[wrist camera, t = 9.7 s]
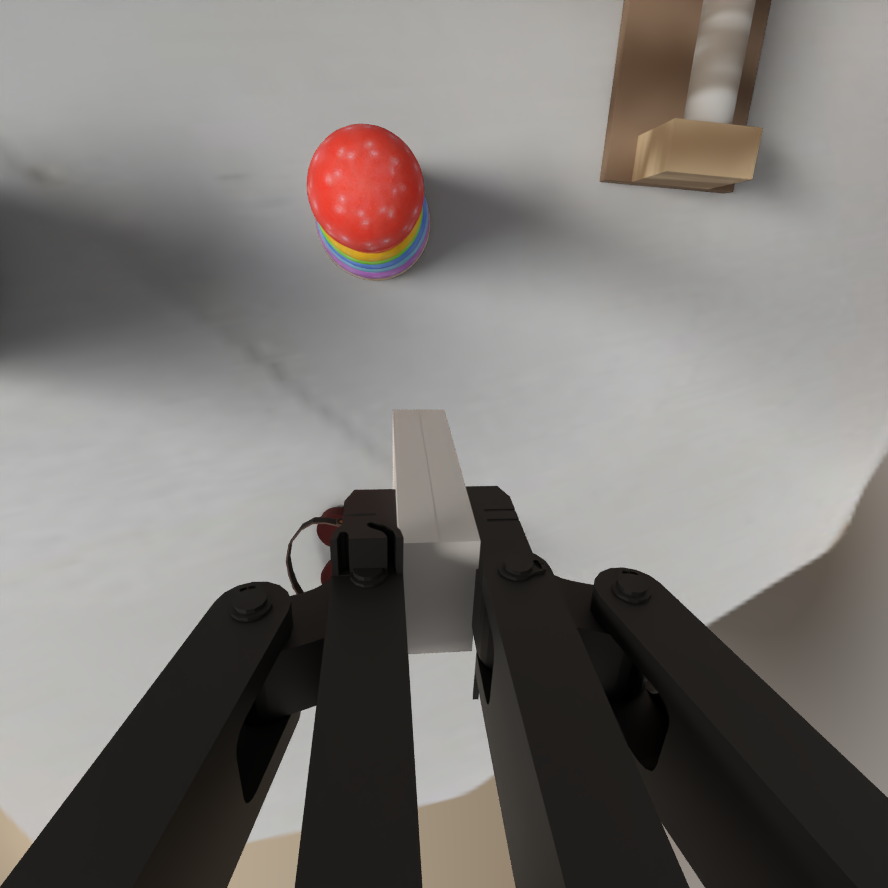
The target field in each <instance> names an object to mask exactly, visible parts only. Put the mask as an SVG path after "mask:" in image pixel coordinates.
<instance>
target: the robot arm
mask: <svg viewBox="0 0 888 888" xmlns="http://www.w3.org/2000/svg"><path fill="white" fill-rule="evenodd" d="M330 551H331V569H332V577H331V578H330V579H329V580H328V581H326V582H325V583H324V584H323V585H321V586H319V587H317V588H315V589H313V590H310V591H307V592H304V593H300V594H297V595H293V596H289V594H288V592H287V591H286V590H285V589H284V588H282V587H281V586H280V585H277V584H273V583H270V582H251V583H247V584H243V585H239V586H236V587H234V588H232V589H230V590H229V591H227V592H225V593H224V594H222V595H221V596H220V597H219V598H218V599H217V600H216V601H215V602H214V603H213V605H212V606H211V607H210V609H209V610H208V611H207V613H206V614H205V615H204V617H203V618H202V619H201V621H200V622H199V623H198V625H197V626H196V627H195V629H194V630H193V631H192V633H191V634H190V635H189V637H188V638H187V639H186V641H185V642H184V643H183V645H182V646H181V647H180V649H179V650H178V651H177V653H176V654H175V655H174V657H173V658H172V659H171V661H170V662H169V663H168V664H167V666H166V667H165V668H164V670H163V671H162V672H161V674H160V675H159V676H158V678H157V679H156V680H155V682H154V683H153V684H152V686H151V687H150V688H149V690H148V691H147V692H146V694H145V695H144V696H143V698H142V699H141V700H140V702H139V703H138V704H137V706H136V707H135V708H134V710H133V711H132V712H131V714H130V715H129V716H128V718H127V719H126V720H125V722H124V723H123V724H122V726H121V727H120V728H119V730H118V731H117V732H116V734H115V735H114V736H113V738H112V739H111V740H110V742H109V743H108V744H107V746H106V747H105V748H104V750H103V751H102V752H101V754H100V755H99V756H98V758H97V759H96V760H95V761H94V763H93V764H92V765H91V767H90V768H89V769H88V771H87V772H86V773H85V775H84V776H83V777H82V779H81V780H80V781H79V783H78V784H77V785H76V787H75V788H74V789H73V791H72V792H71V793H70V795H69V796H68V797H67V799H66V800H65V801H64V803H63V804H62V805H61V807H60V808H59V809H58V811H57V812H56V813H55V815H54V816H53V817H52V819H51V820H50V821H49V823H48V824H47V825H46V827H45V828H44V829H43V831H42V832H41V833H40V835H39V836H38V837H37V839H36V840H35V841H34V843H33V844H32V845H31V847H30V848H29V849H28V851H27V852H26V853H25V854H24V856H23V857H22V858H21V860H20V861H19V863H18V864H17V865H16V866H15V868H14V869H13V870H12V872H11V873H10V875H9V876H8V877H7V879H6V880H5V881H4V882H3V884H2V885H1V886H0V888H227V886H228V884H229V882H230V879H231V877H232V874H233V872H234V870H235V868H236V865H237V863H238V860H239V858H240V856H241V854H242V851H243V849H244V846H245V844H246V842H247V840H248V837H249V835H250V833H251V830H252V828H253V826H254V823H255V821H256V819H257V816H258V814H259V812H260V809H261V807H262V805H263V802H264V800H265V798H266V795H267V793H268V791H269V788H270V786H271V784H272V781H273V779H274V777H275V774H276V772H277V770H278V767H279V765H280V763H281V760H282V758H283V756H284V753H285V751H286V749H287V746H288V744H289V742H290V739H291V737H292V735H293V732H294V730H295V728H296V725H297V723H298V721H299V718H300V713H301V711H302V710H305V709H307V708H310V707H313V706H316V705H317V706H316V714H315V722H314V731H313V739H312V748H311V756H310V764H309V773H308V781H307V789H306V798H305V806H304V815H303V823H302V831H301V840H300V848H299V857H298V865H297V873H296V882H295V888H422V874H421V859H420V842H419V825H418V808H417V792H416V775H415V759H414V742H413V726H412V710H411V693H410V677H409V660H408V654H420V653H440V652H460V651H472V641H473V635H474V640H475V645H476V650H477V653H476V664H475V676H474V688H473V699H478V697H479V695H480V700H481V705H482V711H483V716H484V721H485V727H486V732H487V737H488V743H489V748H490V753H491V759H492V764H493V769H494V775H495V780H496V785H497V791H498V796H499V801H500V807H501V811H502V817H503V823H504V828H505V833H506V838H507V843H508V849H509V854H510V860H511V865H512V870H513V876H514V881H515V886H516V888H689V886H688V883H687V881H686V879H685V876H684V874H683V872H682V869H681V867H680V865H679V863H678V860H677V858H676V856H675V853H674V851H673V849H672V847H671V844H670V842H669V840H668V837H667V835H666V833H665V830H664V828H663V826H662V824H663V825H664V827H665V828H666V830H667V831H668V833H669V834H670V836H671V837H672V839H673V840H674V842H675V843H676V845H677V846H678V848H679V849H680V851H681V852H682V854H683V855H684V857H685V858H686V860H687V861H688V862H689V864H690V866H691V867H692V869H693V870H694V871H695V873H696V874H697V876H698V878H699V879H700V881H701V882H702V884H703V885H704V887H705V888H888V798H887V797H886V796H885V795H884V794H883V793H882V792H881V791H880V790H879V789H878V788H877V787H876V786H875V785H874V784H873V783H871V782H870V781H869V780H868V779H867V778H866V777H865V776H864V775H863V774H862V773H861V772H860V771H859V770H858V769H857V768H856V767H855V766H854V765H852V764H851V763H850V762H849V761H848V760H847V759H846V758H845V757H844V756H843V755H842V754H841V753H840V752H839V751H838V750H837V749H836V748H834V747H833V746H832V745H831V744H830V743H829V742H828V741H827V740H826V739H825V738H824V737H823V736H822V735H821V734H820V733H819V732H817V731H816V730H815V729H814V728H813V727H812V726H811V725H810V724H809V723H808V722H807V721H806V720H805V719H804V718H803V717H802V716H800V715H799V714H798V713H797V712H796V711H795V710H794V709H793V708H792V707H791V706H790V705H789V704H788V703H787V702H786V701H785V700H783V699H782V698H781V697H780V696H779V695H778V694H777V693H776V692H775V691H774V690H773V689H772V688H771V687H770V686H769V685H768V684H767V683H765V682H764V681H763V680H762V679H761V678H760V677H759V676H758V675H757V674H756V673H755V672H754V671H753V670H752V669H751V668H750V667H749V666H748V665H746V664H745V663H744V662H743V661H742V660H741V659H740V658H739V657H738V656H737V655H736V654H734V652H733V651H732V650H731V649H729V648H728V647H727V646H726V645H725V644H724V643H723V642H722V641H721V640H720V639H719V638H718V637H717V636H716V635H715V634H714V633H713V632H711V631H710V630H709V629H708V628H707V627H706V626H705V625H704V624H703V623H702V622H701V621H700V620H699V619H698V618H697V617H696V616H695V615H693V614H692V613H691V612H690V611H689V610H688V609H687V608H686V607H685V606H684V605H683V604H682V603H681V602H680V601H679V600H678V599H676V598H675V597H674V596H673V595H672V594H671V593H670V592H669V591H668V590H667V589H666V588H665V587H664V586H663V585H662V584H661V583H659V582H658V581H656V580H655V579H654V578H652V577H651V576H649V575H647V574H645V573H642V572H640V571H637V570H633V569H628V568H609V569H607V570H605V571H602V572H600V573H599V575H598V576H597V577H596V578H595V581H594V585H591V584H585V583H580V582H575V581H570V580H566V579H562V578H560V577H557V576H555V575H554V574H553V572H552V570H551V568H550V566H549V565H548V564H547V562H546V561H545V560H543V559H542V558H540V557H539V556H537V555H536V554H533V553H532V550H531V548H530V545H529V543H528V540H527V538H526V536H525V533H524V531H523V528H522V526H521V523H520V521H519V518H518V516H517V513H516V511H515V508H514V506H513V504H512V501H511V499H510V496H508V495H507V494H506V493H505V492H504V491H502V490H501V489H500V488H499V487H498V486H469V487H466V486H465V483H464V479H463V476H462V472H461V468H460V465H459V461H458V457H457V454H456V450H455V447H454V443H453V439H452V436H451V432H450V428H449V425H448V421H447V418H446V414H445V410H393V489H378V490H354V491H353V492H352V493H351V494H350V496H349V497H348V498H347V499H346V500H345V502H344V511H343V520H342V525H341V526H340V527H339V528H337V529H336V530H335V531H334V532H333V534H332V536H331V538H330ZM661 822H662V823H661Z"/></svg>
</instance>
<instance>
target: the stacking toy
mask: <svg viewBox="0 0 888 888" xmlns="http://www.w3.org/2000/svg"><path fill="white" fill-rule="evenodd" d="M307 194H308V199H309V203H310V206H311V209H312V212H313V214H314V216H315V218H316V227H317V231H318V236H319V238H320V241H321V243H322V246H323V248H324V249H325V251H326V253H327V254H328V256H329V257H330V258H331V259H332V260H333V262H334V263H335V264H336V265H337V266H339V267H340V268H341V269H342V270H344V271H345V272H347V273H349V274H351V275H353V276H355V277H358V278H362V279H366V280H373V281H380V280H387V279H391V278H394V277H396V276H399V275H401V274H403V273H404V272H406V271H407V270H408V269H409V268H411V267H412V266H413V265H414V264H415V263H416V262H417V260H418V259H419V258H420V256H421V255H422V253H423V251H424V249H425V247H426V244H427V242H428V238H429V233H430V212H429V207H428V203H427V200H426V197H425V195H424V182H423V176H422V172H421V168H420V166H419V164H418V161H417V159H416V158H415V156H414V154H413V153H412V151H411V150H410V148H409V147H408V146H407V145H406V144H405V143H404V142H403V141H402V140H401V139H400V138H399V137H398V136H396V135H395V134H393V133H392V132H390V131H388V130H386V129H384V128H382V127H379V126H375V125H369V124H354V125H350V126H346V127H343V128H341V129H339V130H336V131H335V132H333V133H332V134H330V135H329V136H328V137H327V138H326V139H325V140H324V141H323V142H322V143H321V144H320V146H319V147H318V149H317V150H316V151H315V153H314V156H313V158H312V160H311V163H310V166H309V169H308V176H307Z"/></svg>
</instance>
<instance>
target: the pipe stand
mask: <svg viewBox="0 0 888 888" xmlns="http://www.w3.org/2000/svg"><path fill="white" fill-rule="evenodd" d="M770 5H771V0H624V5H623V12H622V20H621V27H620V35H619V42H618V49H617V57H616V64H615V72H614V79H613V87H612V94H611V101H610V109H609V116H608V124H607V131H606V139H605V146H604V154H603V161H602V168H601V176H600V182H609V183H619V184H630V185H641V186H652V187H662V188H673V189H684V190H695V191H705V192H716V193H729V192H733V189H734V184H735V183H739V182H743V181H748V180H752V178H753V173H754V168H755V164H756V159H757V154H758V149H759V144H760V140H761V135H762V130H763V128H759V127H750V126H746V124H747V119H748V114H749V109H750V104H751V99H752V94H753V89H754V84H755V79H756V74H757V69H758V64H759V59H760V54H761V49H762V45H763V40H764V35H765V30H766V25H767V20H768V15H769V10H770Z"/></svg>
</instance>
